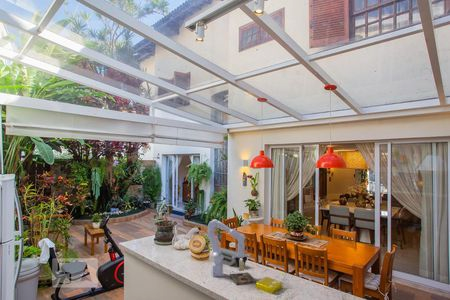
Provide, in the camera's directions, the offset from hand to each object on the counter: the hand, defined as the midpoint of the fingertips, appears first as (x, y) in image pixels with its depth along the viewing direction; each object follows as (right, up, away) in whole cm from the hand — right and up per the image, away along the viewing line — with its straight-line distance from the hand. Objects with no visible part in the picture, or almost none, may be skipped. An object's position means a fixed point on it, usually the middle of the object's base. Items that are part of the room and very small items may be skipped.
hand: (240, 266), depth 217 cm
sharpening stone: (-10, -10, +30) cm, 33 cm away
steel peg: (0, -2, 0) cm, 2 cm away
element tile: (+20, -8, -19) cm, 28 cm away
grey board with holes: (+1, -8, -5) cm, 9 cm away
